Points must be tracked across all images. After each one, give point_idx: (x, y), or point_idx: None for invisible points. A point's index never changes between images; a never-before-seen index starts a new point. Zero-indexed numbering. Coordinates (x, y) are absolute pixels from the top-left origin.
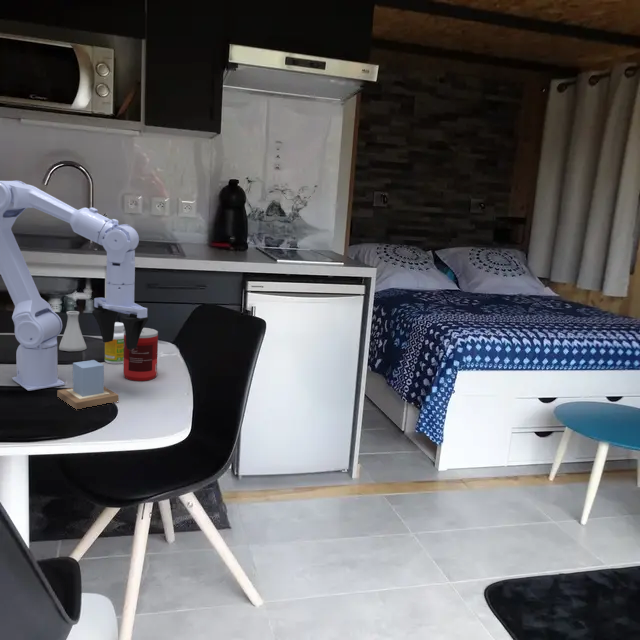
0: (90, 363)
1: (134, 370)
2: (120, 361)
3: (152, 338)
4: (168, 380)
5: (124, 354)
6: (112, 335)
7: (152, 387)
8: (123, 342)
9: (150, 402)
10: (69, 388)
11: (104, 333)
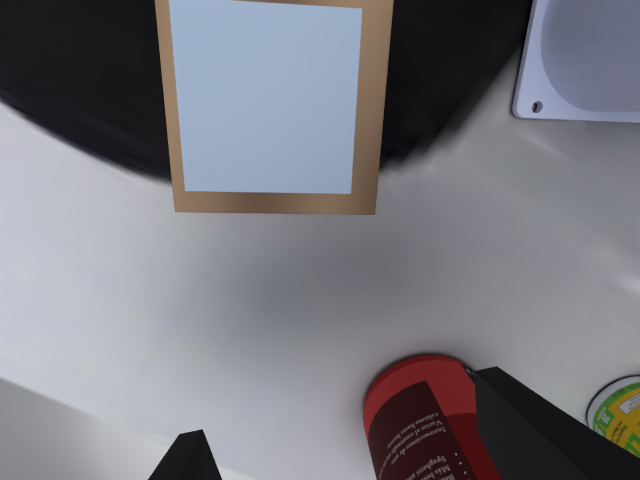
0: (273, 125)
1: (399, 394)
2: (594, 414)
3: None
4: (325, 454)
5: None
6: (504, 472)
7: (285, 383)
8: None
9: (126, 304)
10: (384, 59)
11: (526, 431)
